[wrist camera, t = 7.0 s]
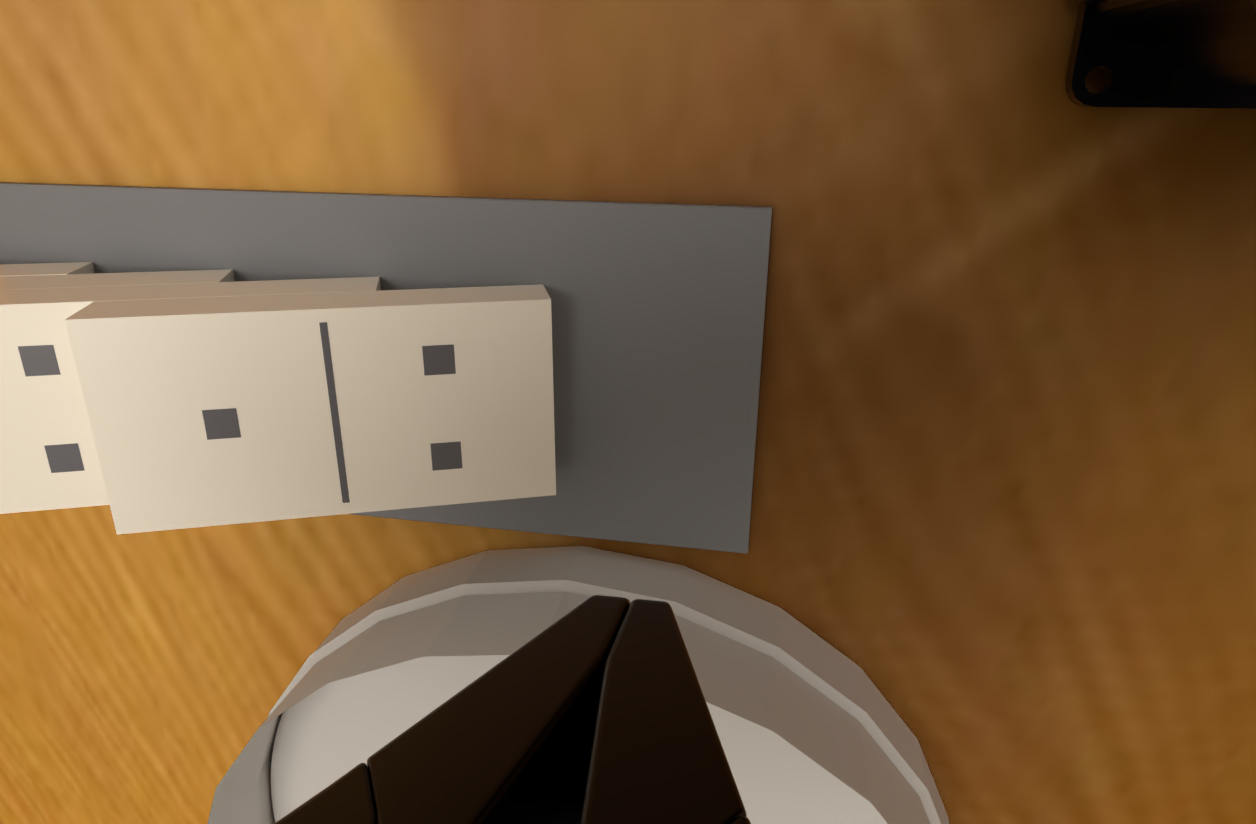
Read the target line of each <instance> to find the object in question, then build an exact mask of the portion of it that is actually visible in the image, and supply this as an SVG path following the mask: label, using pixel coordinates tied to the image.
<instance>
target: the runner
mask: <svg viewBox="0 0 1256 824" xmlns="http://www.w3.org/2000/svg"><path fill="white" fill-rule="evenodd" d="M771 216H772V207H761V206H730V205H698V204H667V203H636V202H604V201H573V200H541V199H510V198H478V197H447V196H416V195H384V194H353V193H321V192H290V191H259V190H227V189H196V188H164V187H133V186H101V185H70V184H39V183H7V182H0V263H1V264H35V263H71V262H93V266H94V271H95V273H126V272H158V271H189V270H221V269H233V271H234V277H235V282H237V281H266V280H294V279H323V278H351V277H380V285H381V290H406V289H432V288H458V287H484V286H510V285H536V284H543V285H544V287H545V289H546V291H547V293H548V295H549V296H550V298H551V314H552V353H553V392H554V430H555V469H556V495H551V496H540V497H529V498H518V499H507V500H496V501H485V502H473V503H462V504H451V505H440V506H429V507H418V508H406V509H395V510H384V511H373V512H362V513H351V514H354V515H364V516H374V517H384V518H395V519H405V520H415V521H425V522H435V523H445V524H455V525H465V526H475V527H485V528H495V529H505V530H515V531H525V532H535V533H545V534H555V535H565V536H575V537H585V538H596V539H606V540H616V541H626V542H636V543H646V544H656V545H666V546H676V547H686V548H696V549H706V550H716V551H726V552H736V553H746V554H748V544H749V530H750V516H751V501H752V487H753V473H754V459H755V444H756V430H757V416H758V402H759V387H760V373H761V359H762V345H763V330H764V316H765V302H766V288H767V273H768V259H769V245H770V231H771Z"/></svg>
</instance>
